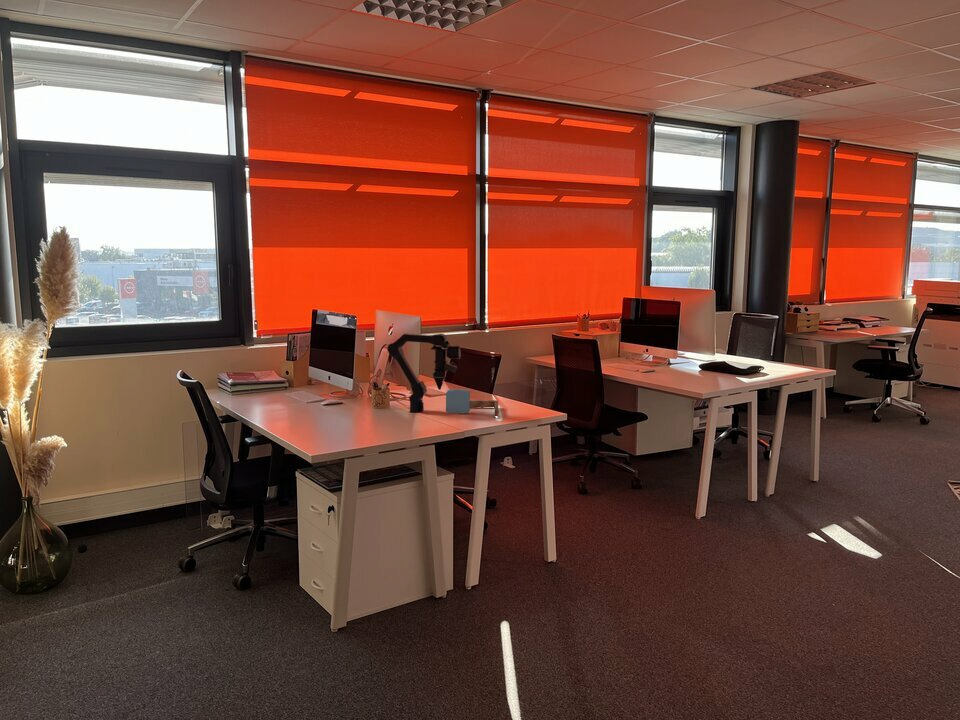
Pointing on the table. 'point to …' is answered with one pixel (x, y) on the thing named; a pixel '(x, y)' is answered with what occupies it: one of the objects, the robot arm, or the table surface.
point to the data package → (457, 401)
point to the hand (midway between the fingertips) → (440, 388)
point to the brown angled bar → (485, 404)
